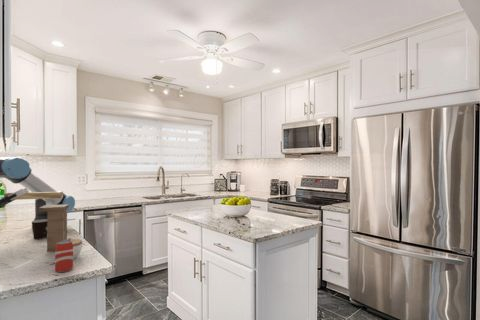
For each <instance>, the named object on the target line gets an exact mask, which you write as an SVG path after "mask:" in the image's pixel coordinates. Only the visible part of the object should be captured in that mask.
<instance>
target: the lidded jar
mask: <svg viewBox="0 0 480 320" xmlns="http://www.w3.org/2000/svg"><path fill="white" fill-rule="evenodd" d="M67 240H71V241H72V244H73V260H74V259H76V258H77V257H78V256H79V255H80V254H81V252H82V247H83V240H82V239H80V238H68V237H67ZM63 241H64V240H63ZM56 245H57V243H56Z"/></svg>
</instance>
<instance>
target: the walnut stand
mask: <svg viewBox="0 0 480 320" xmlns="http://www.w3.org/2000/svg"><path fill="white" fill-rule="evenodd" d="M68 208H69V204H66V205H44V206H42V207H40V208H39V212H48V217H47V237H46V242H47V243H46V252H48V253H49V252H50V253H51V252H55V247H56V243H57V242H59V241H63V240H68V213H67V209H68Z"/></svg>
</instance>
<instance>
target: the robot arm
mask: <svg viewBox="0 0 480 320" xmlns="http://www.w3.org/2000/svg"><path fill="white" fill-rule="evenodd" d="M0 178H3V179H6V180H8V181H10V182H11V183H12V184H19V185H21V186H22V187H23V188H20V189H19V190H17V191H14V192H11V193H12V194H10V195H8V196H6V197H5V198H4V197H2V198H0V209H1V208H2V207H4V206H6V205H8V204H10V203H12V202H14V201H15V200H13V199H15V198H17V197H19V196H21V195H23V194H25V193H27V192H62V190H55V189H54V188H53V187H51V185H49V184H48V183H46V182H45V181H44V180H42V179H41V178H39V177H38V176H37V175H35V173H33V172H32V168H31V166H30V163H29V162H28V160H27V159H24V158H22V157H18V156H0ZM10 199H11V200H10ZM66 204H69V208H68V209H67V214H69V213H72V211H73V210H74V208H75V206H76V200H75V198H74V197H73V196H72V195H66V194H65V193H64V192H63V197H62V198H50V199H34V205H35V207H34V209H35V210H34V211H35V213H34V214H35V216H34V219H33V221H35V220H42V219H47V217H48V212H39V208H40V207H42V206H44V205H66ZM31 229H32V230H33V228H32V227H31Z"/></svg>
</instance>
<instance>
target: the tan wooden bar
mask: <svg viewBox="0 0 480 320" xmlns="http://www.w3.org/2000/svg"><path fill="white" fill-rule="evenodd" d="M12 193H13V192H6V193H4V194H3V198H5V197H6V196H8V195H10V194H12ZM63 193H64V191H61V192H31V191H29V192H27V193H25V194H23V195H21V196H19V197H17V198H15V199H13V200H14V201H16V200H17V201H18V200H36V199H50V198H62V197H63ZM10 200H11V199H10Z"/></svg>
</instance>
